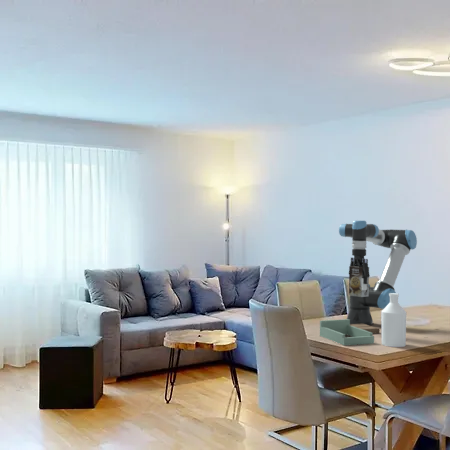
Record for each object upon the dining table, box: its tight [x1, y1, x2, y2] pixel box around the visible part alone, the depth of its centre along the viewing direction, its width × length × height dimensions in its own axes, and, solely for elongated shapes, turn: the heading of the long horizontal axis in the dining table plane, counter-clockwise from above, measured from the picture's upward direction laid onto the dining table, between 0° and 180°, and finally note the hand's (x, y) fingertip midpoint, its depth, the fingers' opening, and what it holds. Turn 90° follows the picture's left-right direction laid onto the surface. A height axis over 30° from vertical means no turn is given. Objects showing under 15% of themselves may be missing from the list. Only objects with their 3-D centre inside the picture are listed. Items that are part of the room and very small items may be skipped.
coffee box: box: [348, 265, 370, 297], centre depth 325 cm, size 9×6×16 cm
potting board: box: [350, 324, 380, 334], centre depth 325 cm, size 16×16×2 cm
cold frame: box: [319, 318, 375, 346], centre depth 302 cm, size 25×17×8 cm
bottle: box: [380, 293, 407, 348], centre depth 291 cm, size 12×12×25 cm
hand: (358, 288), depth 325 cm, fingers closed on coffee box, 10 cm apart
